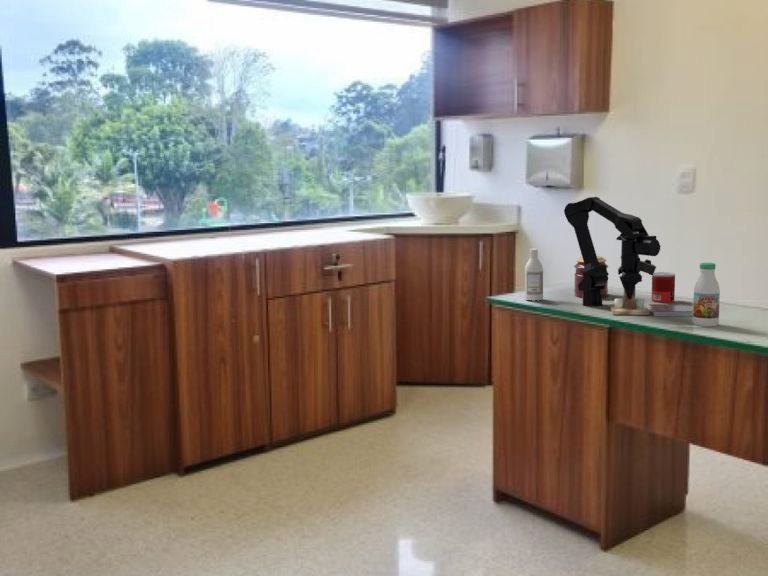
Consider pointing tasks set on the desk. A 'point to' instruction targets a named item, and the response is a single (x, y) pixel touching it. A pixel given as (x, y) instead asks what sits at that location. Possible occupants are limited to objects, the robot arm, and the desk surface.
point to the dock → (671, 309)
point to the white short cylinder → (619, 303)
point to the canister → (579, 278)
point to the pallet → (631, 311)
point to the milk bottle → (706, 297)
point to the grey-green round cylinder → (639, 303)
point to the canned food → (663, 287)
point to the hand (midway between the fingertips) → (629, 298)
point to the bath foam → (534, 277)
